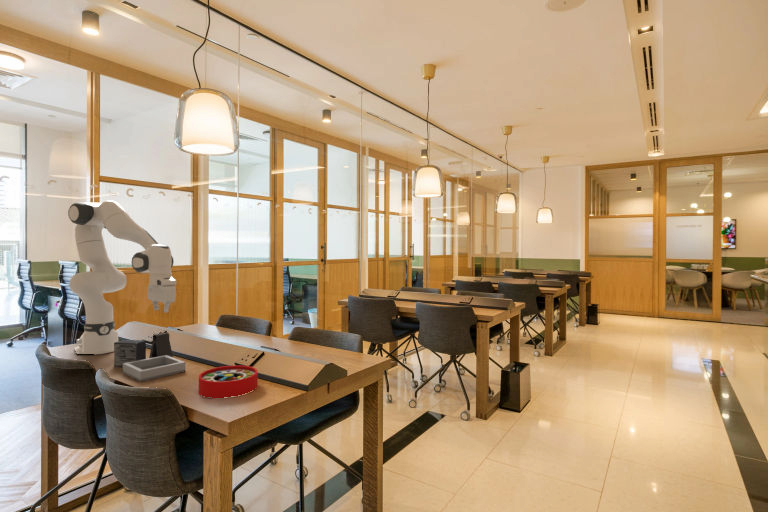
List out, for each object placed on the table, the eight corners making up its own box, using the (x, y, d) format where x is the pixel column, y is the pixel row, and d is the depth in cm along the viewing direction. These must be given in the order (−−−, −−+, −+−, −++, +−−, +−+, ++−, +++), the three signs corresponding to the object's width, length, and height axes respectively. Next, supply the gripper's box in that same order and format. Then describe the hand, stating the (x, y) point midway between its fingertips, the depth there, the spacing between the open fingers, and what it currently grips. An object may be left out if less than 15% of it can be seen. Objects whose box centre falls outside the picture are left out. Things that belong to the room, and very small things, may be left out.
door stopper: (148, 360, 187) (148, 333, 187) (161, 357, 192) (161, 331, 192) (160, 363, 183) (160, 336, 182) (173, 360, 188) (173, 333, 188)
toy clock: (266, 366, 159) (240, 383, 139) (266, 382, 159) (240, 401, 140) (218, 364, 162) (186, 380, 143) (218, 379, 163) (186, 397, 143)
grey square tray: (122, 373, 168) (122, 363, 168) (166, 364, 181) (166, 355, 181) (140, 382, 157) (140, 371, 157) (185, 371, 171) (185, 362, 170)
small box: (147, 363, 182) (147, 339, 182) (136, 368, 175) (136, 343, 175) (124, 362, 183) (124, 339, 183) (113, 367, 176) (113, 342, 176)
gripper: (143, 279, 191) (143, 309, 191) (163, 282, 178) (163, 314, 178) (157, 279, 196) (158, 308, 196) (178, 281, 183) (178, 312, 183)
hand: (161, 311), depth 187 cm, fingers open, 8 cm apart
